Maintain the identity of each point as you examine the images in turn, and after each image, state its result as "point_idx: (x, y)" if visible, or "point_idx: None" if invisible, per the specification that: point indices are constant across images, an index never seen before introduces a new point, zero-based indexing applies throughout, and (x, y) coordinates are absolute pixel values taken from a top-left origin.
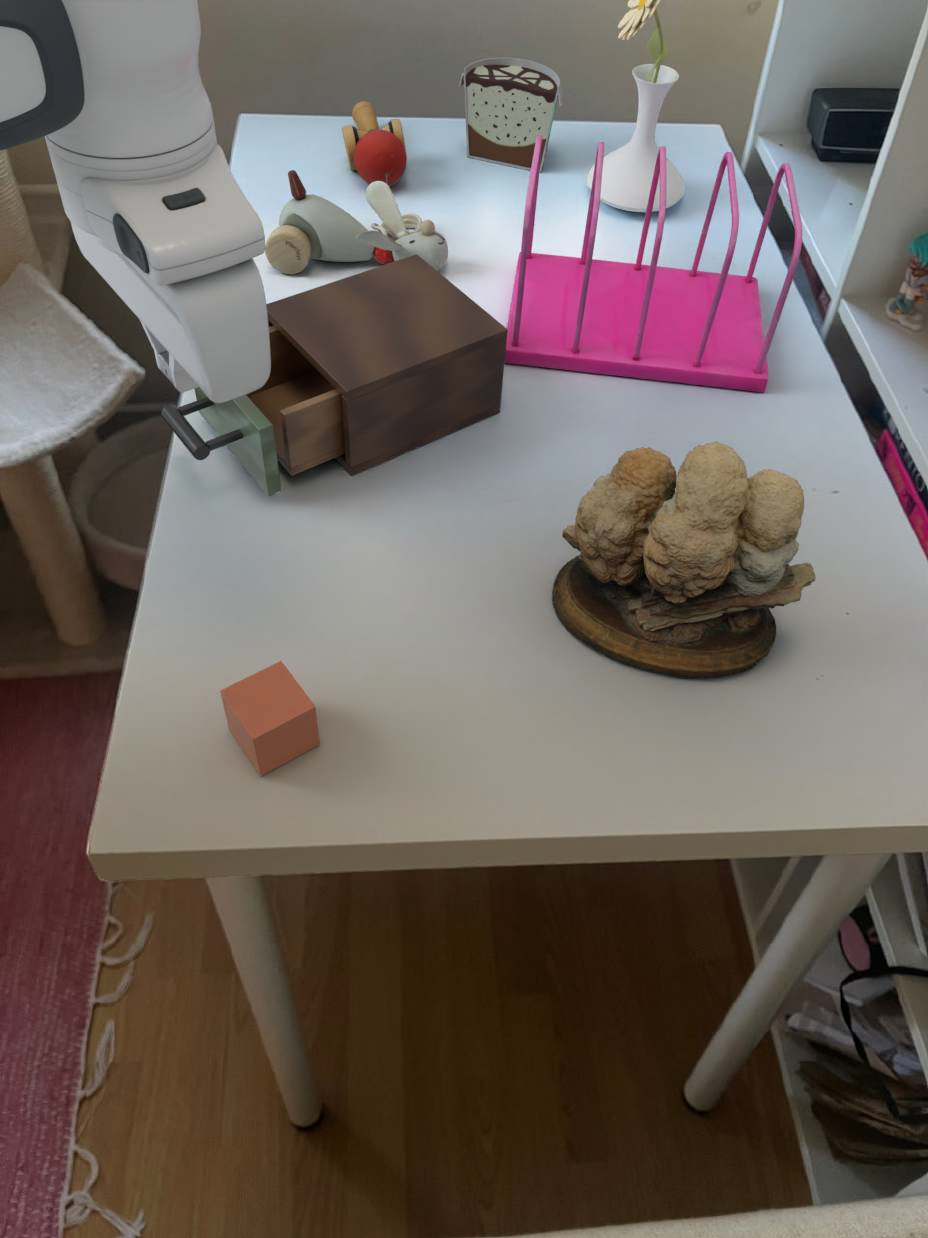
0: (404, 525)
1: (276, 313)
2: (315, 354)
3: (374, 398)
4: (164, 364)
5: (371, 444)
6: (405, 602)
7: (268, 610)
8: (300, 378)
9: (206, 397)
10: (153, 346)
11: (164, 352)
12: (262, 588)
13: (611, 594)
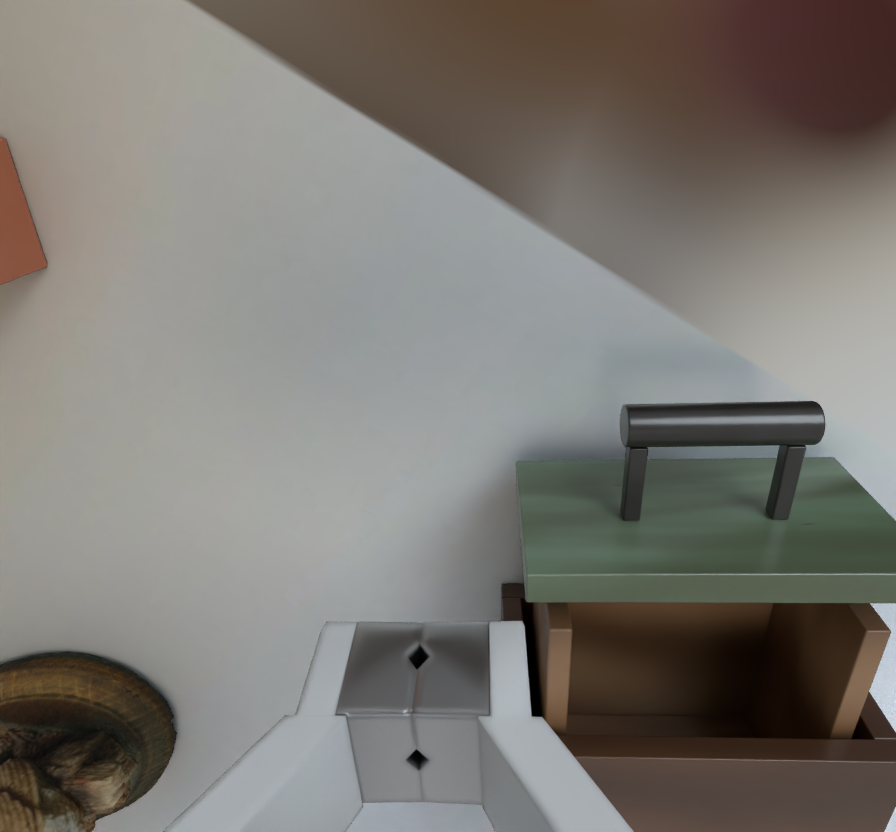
0: (351, 592)
1: (860, 771)
2: (663, 765)
3: None
4: (416, 690)
5: None
6: (193, 518)
7: (264, 330)
8: (756, 646)
9: (788, 511)
10: (518, 735)
11: (476, 734)
12: (321, 345)
13: (47, 735)
